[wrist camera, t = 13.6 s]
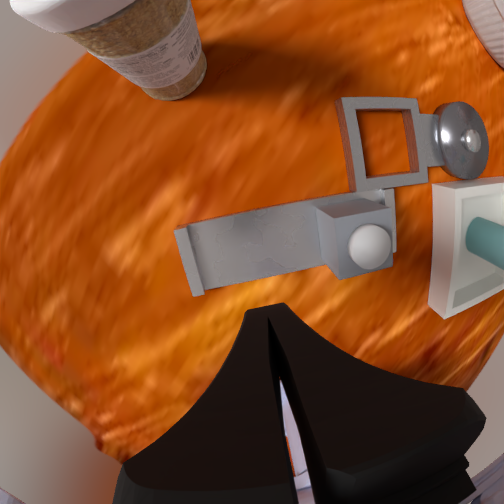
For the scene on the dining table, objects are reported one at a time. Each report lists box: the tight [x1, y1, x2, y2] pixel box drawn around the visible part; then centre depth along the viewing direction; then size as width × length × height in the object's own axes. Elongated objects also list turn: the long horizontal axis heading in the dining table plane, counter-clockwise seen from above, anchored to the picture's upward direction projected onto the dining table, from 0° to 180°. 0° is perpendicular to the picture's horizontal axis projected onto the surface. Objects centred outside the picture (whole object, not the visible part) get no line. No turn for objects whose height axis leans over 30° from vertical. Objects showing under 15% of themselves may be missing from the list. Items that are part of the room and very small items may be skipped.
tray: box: [427, 176, 504, 319], centre depth 18 cm, size 11×11×3 cm
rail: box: [174, 188, 396, 297], centre depth 18 cm, size 5×15×1 cm, turn 101°
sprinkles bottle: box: [10, 0, 207, 100], centre depth 8 cm, size 5×5×14 cm
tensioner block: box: [335, 97, 489, 193], centre depth 16 cm, size 6×14×2 cm, turn 101°
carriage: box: [315, 198, 393, 280], centre depth 16 cm, size 4×4×4 cm
